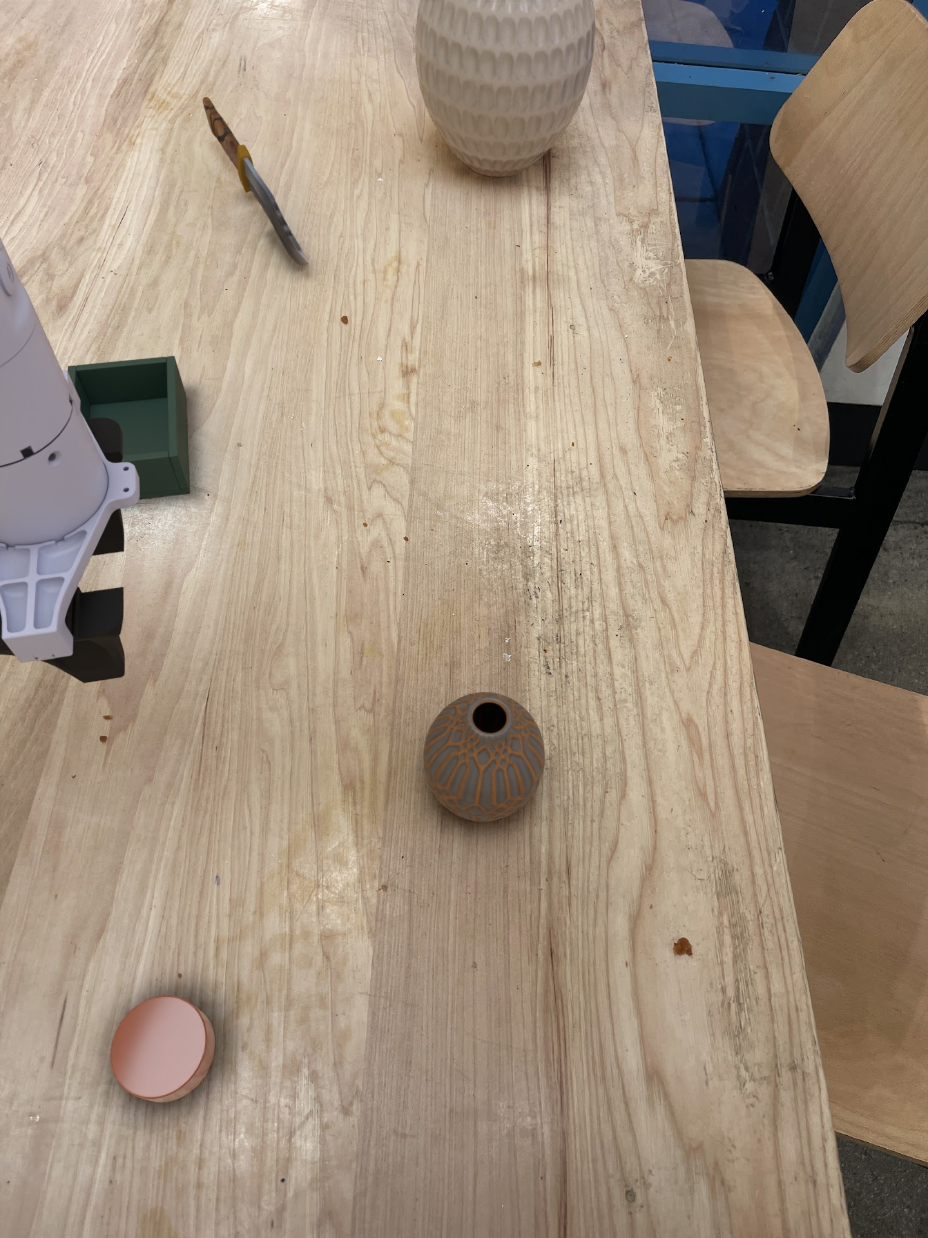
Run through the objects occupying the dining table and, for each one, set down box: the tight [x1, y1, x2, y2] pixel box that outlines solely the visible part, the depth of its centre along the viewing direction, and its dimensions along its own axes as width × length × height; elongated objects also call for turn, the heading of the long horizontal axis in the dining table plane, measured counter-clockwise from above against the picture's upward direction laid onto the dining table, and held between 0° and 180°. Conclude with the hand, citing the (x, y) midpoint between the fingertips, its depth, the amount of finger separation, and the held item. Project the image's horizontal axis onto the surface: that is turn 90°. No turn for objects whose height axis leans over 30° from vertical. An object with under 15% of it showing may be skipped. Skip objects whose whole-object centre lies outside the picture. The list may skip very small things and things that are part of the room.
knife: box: [202, 96, 310, 267], centre depth 81 cm, size 25×1×5 cm, turn 28°
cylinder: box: [109, 994, 216, 1103], centre depth 44 cm, size 5×5×2 cm
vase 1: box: [414, 0, 596, 178], centre depth 80 cm, size 16×16×22 cm
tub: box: [67, 355, 191, 500], centre depth 65 cm, size 8×10×4 cm
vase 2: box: [422, 691, 546, 822], centre depth 50 cm, size 7×7×9 cm
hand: (104, 608), depth 45 cm, fingers open, 7 cm apart
